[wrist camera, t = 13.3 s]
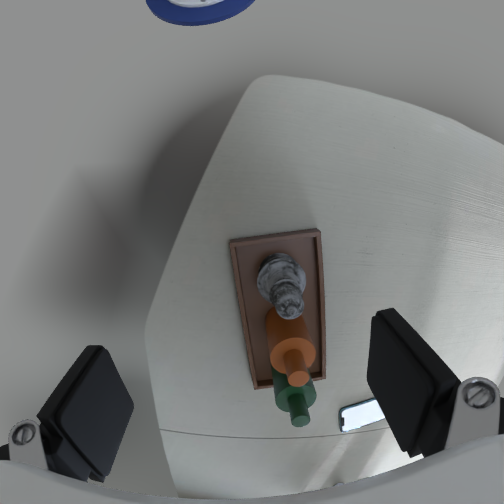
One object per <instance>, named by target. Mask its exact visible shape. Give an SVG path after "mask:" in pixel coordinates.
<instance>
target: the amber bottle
mask: <svg viewBox="0 0 504 504" xmlns="http://www.w3.org/2000/svg"><path fill="white" fill-rule="evenodd" d="M265 325H266V333H267V340H268V348H269V355H270V362H271V365H272V366H273V367H274V369H276V370H277V371H278V372H281V373H284V374H287V379H288V383H289V384H290V385H292V386H294V387H300V386H303V385H305V384H306V383H307V382H308V381H309V373H308V370H307V368H309V367H310V366H311V365H312V363H313V362H314V359H315V356H316V350H315V347H314V345H313V342H312V339H311V337H310V334H309V332H308V329H307V327H306V324H305V321H304V319H303V316H302V314H301V315H300V316H298V317H297V318H295V319H284V318H282V317H281V316H280V315H279V314H278V313H277V311H276V308H275V306H274V307H272V308H271V309H270V310H269V311H268V313H267V315H266V318H265Z"/></svg>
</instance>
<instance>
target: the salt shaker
mask: <svg viewBox="0 0 504 504" xmlns="http://www.w3.org/2000/svg"><path fill="white" fill-rule="evenodd" d="M257 286H258V290H259V292H260V294H261V296H262V297H263V298H264V299H265V300H267V301H269V302H270V303H272V304H273V305H274V306H275V308H276V311H277V313H278V314H279V315H280V316H281V317H282V318H284V319H295V318H297V317H298V316H300V315H301V314H302V312H303V310H304V301H303V299H302V297H303V291H304V289H305V286H306V275H305V272H304V270H303V268H302V267H301V266H300V265H299V264H298V263H297V262H296V261H295V260H294V259H293V258H292V257H291V256H289V255H287V254H284V253H275V254H271V255H269V256H267V257H266V258H265V259H264V260H263V261H262V263H261V264H260V267H259V272H258V278H257Z"/></svg>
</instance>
